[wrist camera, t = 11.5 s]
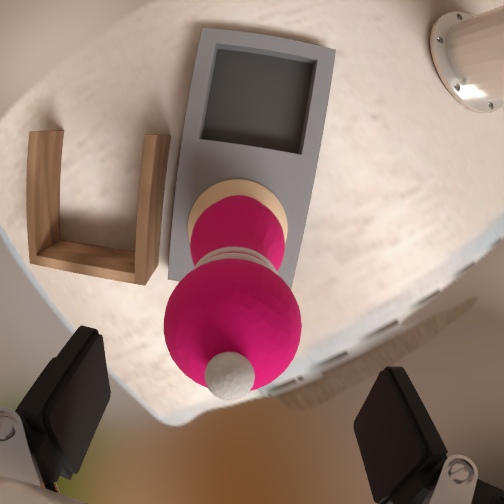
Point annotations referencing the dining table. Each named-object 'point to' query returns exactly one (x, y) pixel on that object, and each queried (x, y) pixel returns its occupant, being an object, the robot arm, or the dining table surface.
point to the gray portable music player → (251, 134)
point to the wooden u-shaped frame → (81, 255)
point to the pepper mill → (234, 302)
